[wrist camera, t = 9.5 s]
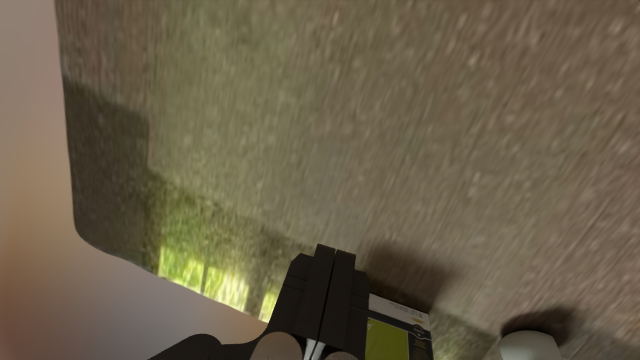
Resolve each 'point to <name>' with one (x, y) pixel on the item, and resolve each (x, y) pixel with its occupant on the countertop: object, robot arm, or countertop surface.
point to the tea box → (397, 332)
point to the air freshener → (529, 346)
